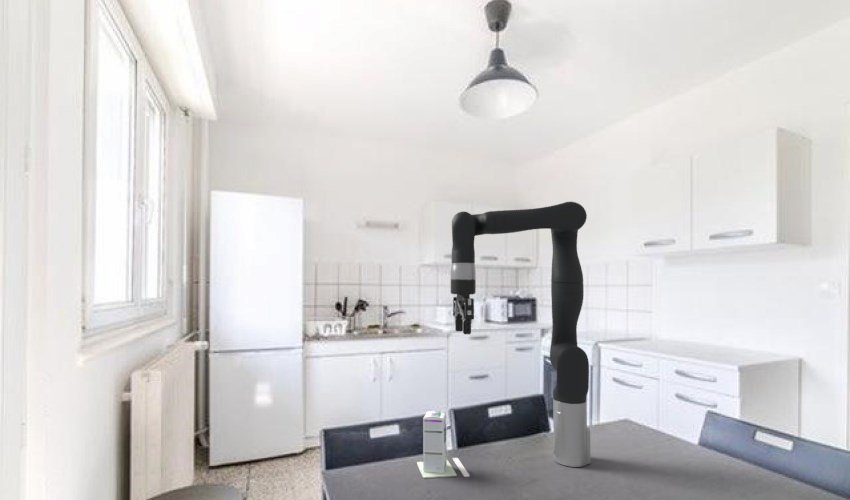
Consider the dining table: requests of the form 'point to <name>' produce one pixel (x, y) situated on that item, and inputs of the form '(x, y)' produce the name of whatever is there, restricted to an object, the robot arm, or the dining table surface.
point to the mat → (447, 473)
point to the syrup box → (434, 442)
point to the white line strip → (461, 467)
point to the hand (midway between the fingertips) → (462, 332)
